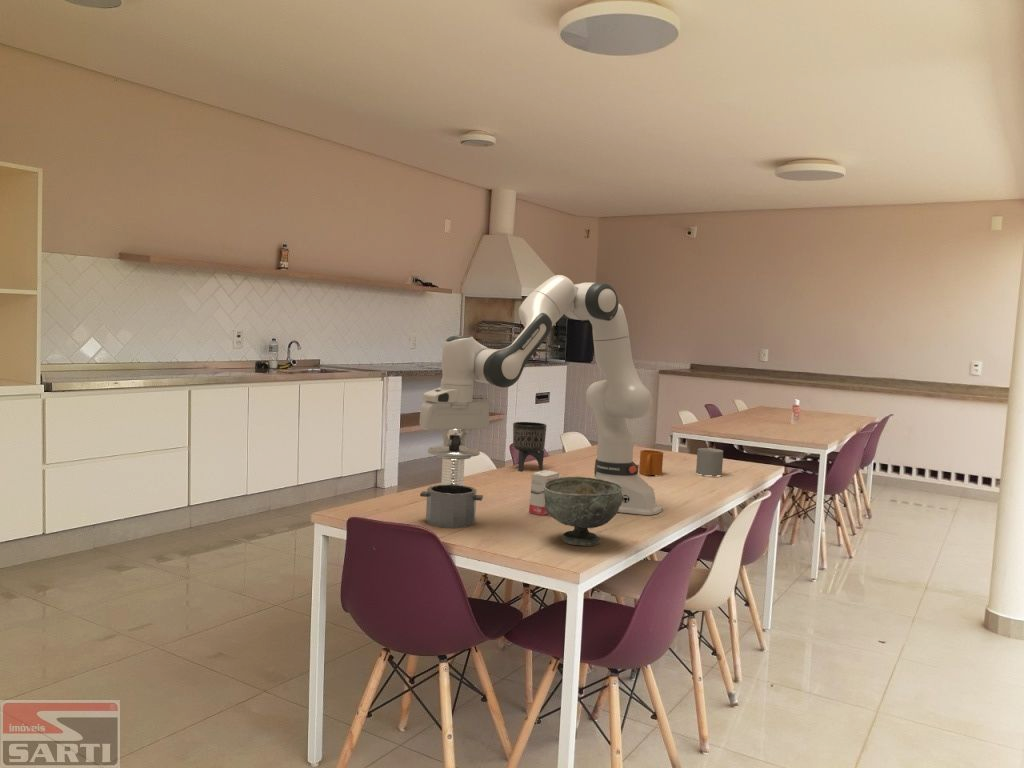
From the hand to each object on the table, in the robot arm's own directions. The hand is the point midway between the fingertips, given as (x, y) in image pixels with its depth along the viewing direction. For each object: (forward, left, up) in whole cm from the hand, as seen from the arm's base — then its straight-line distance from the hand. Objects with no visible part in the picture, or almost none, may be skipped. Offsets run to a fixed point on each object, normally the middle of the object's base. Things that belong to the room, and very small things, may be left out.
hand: (454, 445), depth 214 cm
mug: (-24, -113, -21) cm, 117 cm away
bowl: (-37, -2, -21) cm, 43 cm away
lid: (0, 0, -3) cm, 3 cm away
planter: (+18, -91, -21) cm, 95 cm away
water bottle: (+14, -25, -21) cm, 36 cm away
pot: (0, 0, -21) cm, 21 cm away
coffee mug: (-44, -131, -21) cm, 140 cm away
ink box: (-16, -27, -21) cm, 38 cm away
